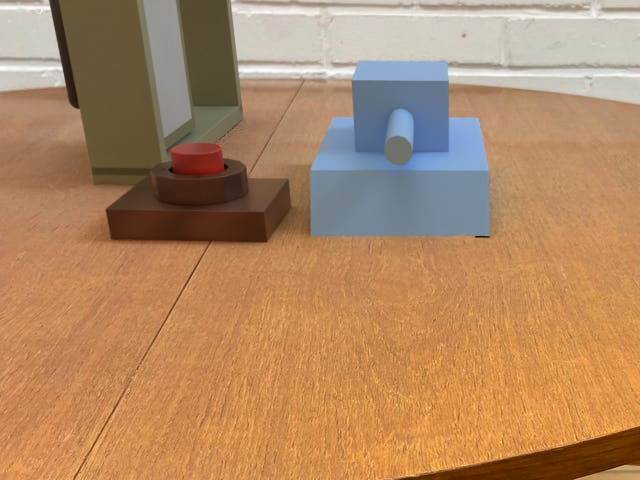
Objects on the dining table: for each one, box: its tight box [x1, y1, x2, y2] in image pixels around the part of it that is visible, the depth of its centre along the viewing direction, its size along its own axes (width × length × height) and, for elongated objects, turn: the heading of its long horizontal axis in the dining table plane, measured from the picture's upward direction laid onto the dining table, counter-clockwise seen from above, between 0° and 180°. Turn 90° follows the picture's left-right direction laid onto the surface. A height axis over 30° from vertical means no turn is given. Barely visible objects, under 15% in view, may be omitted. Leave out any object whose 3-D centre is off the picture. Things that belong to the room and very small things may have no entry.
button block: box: [105, 157, 292, 243], centre depth 70 cm, size 11×9×4 cm
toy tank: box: [309, 60, 491, 237], centre depth 76 cm, size 22×9×13 cm
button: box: [170, 143, 225, 175], centre depth 69 cm, size 4×4×2 cm
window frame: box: [59, 0, 244, 186], centre depth 87 cm, size 6×28×18 cm, turn 179°
